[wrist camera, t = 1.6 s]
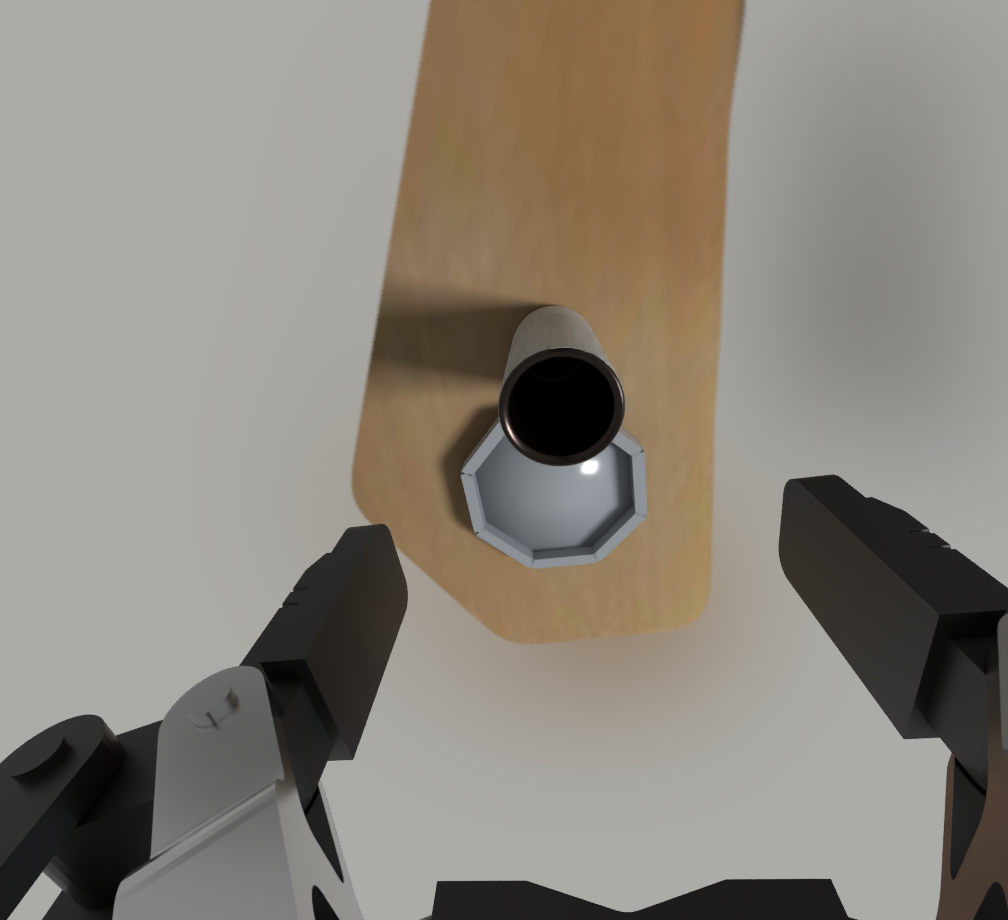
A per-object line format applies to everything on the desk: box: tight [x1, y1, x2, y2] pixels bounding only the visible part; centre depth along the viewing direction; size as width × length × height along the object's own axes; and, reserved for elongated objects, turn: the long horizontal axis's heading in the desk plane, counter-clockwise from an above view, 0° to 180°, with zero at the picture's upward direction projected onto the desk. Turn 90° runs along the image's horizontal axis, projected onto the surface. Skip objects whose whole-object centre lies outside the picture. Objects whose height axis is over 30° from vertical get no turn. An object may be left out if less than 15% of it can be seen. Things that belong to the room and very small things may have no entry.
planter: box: [498, 306, 625, 466], centre depth 21 cm, size 4×4×10 cm
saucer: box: [461, 416, 647, 569], centre depth 29 cm, size 11×11×1 cm
